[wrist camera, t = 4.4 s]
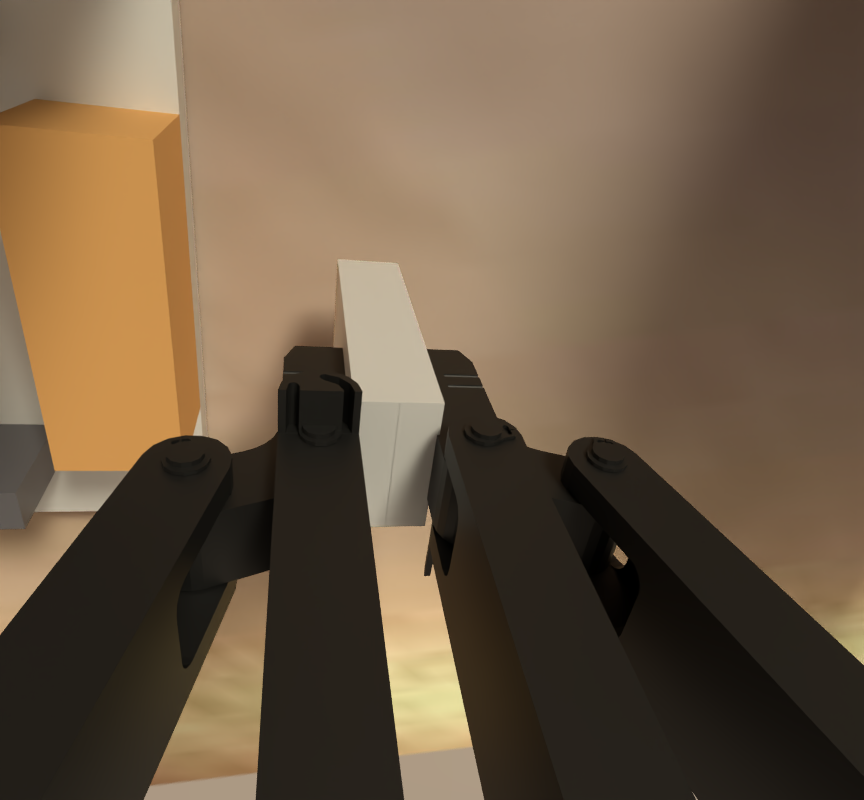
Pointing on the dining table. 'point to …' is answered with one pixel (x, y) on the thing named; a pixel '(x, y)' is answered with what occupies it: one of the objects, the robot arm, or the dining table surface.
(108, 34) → the board
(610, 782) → the robot arm
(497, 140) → the dining table surface
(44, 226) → the orange rectangular brick
